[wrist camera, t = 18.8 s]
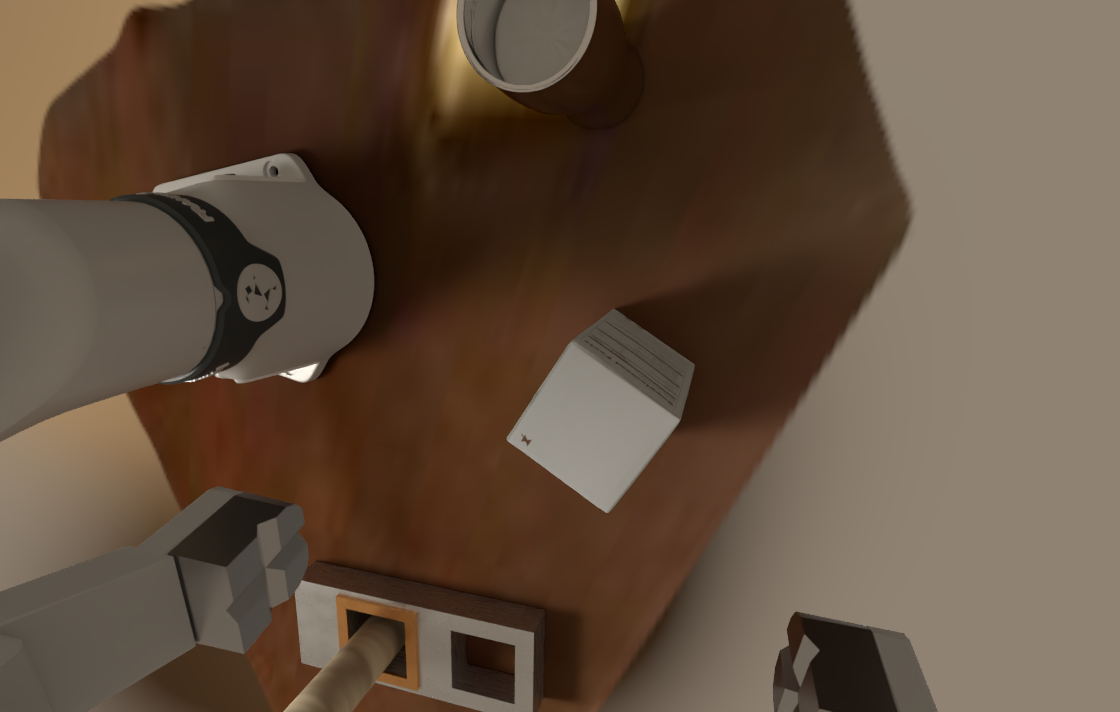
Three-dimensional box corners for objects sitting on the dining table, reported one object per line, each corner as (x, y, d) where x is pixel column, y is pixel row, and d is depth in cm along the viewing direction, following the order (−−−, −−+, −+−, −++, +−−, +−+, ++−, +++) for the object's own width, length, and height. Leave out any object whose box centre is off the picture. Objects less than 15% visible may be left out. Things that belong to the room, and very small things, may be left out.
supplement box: (640, 439, 45) (605, 520, 33) (561, 381, 46) (499, 440, 34) (699, 364, 43) (684, 422, 31) (615, 303, 43) (568, 337, 31)
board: (322, 641, 59) (299, 664, 56) (315, 560, 57) (291, 580, 54) (543, 697, 53) (531, 727, 50) (545, 609, 51) (532, 635, 48)
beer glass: (662, 33, 38) (618, -70, 24) (636, 145, 40) (581, 110, 26) (561, 17, 40) (464, -89, 26) (540, 126, 42) (440, 83, 28)
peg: (373, 626, 57) (264, 750, 44) (382, 593, 56) (271, 711, 43) (410, 645, 56) (309, 777, 43) (419, 613, 55) (318, 738, 42)
